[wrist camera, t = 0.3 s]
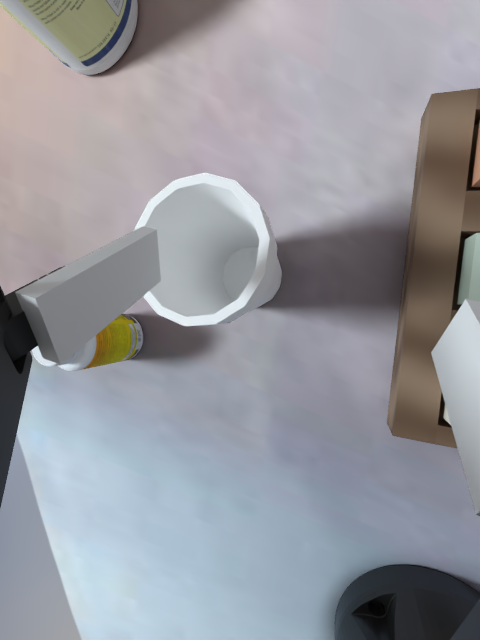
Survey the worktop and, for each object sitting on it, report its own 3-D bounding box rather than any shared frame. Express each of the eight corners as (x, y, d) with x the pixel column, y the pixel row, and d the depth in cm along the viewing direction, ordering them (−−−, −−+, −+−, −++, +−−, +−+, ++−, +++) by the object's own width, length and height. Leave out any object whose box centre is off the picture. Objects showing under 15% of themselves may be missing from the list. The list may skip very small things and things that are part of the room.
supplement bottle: (144, 312, 35) (70, 310, 25) (146, 359, 35) (73, 376, 25) (105, 314, 37) (22, 314, 27) (108, 359, 37) (25, 375, 27)
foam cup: (312, 247, 29) (293, 195, 16) (277, 335, 30) (236, 349, 18) (226, 220, 32) (155, 159, 19) (198, 302, 33) (114, 294, 20)
